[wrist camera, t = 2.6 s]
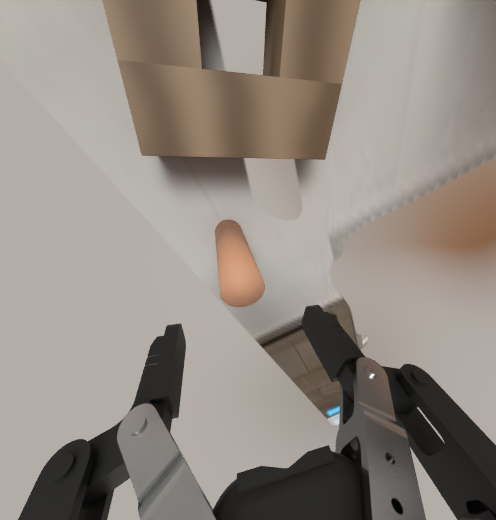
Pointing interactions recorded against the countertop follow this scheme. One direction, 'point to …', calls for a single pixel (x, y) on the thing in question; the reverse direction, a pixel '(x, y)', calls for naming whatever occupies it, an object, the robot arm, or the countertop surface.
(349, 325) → the countertop surface
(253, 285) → the peg
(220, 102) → the socket block
